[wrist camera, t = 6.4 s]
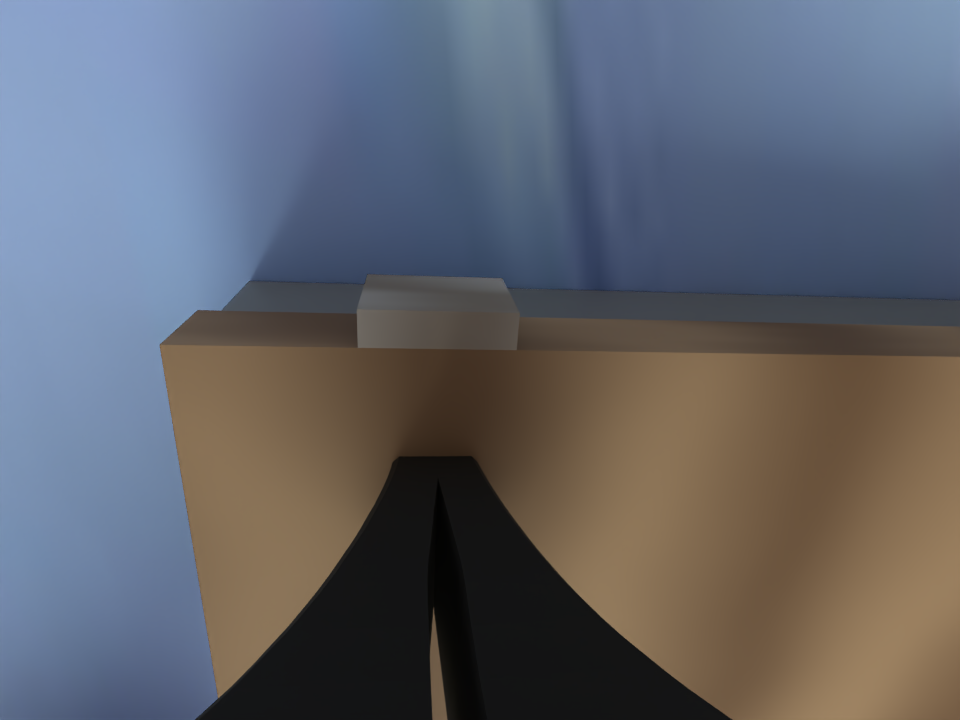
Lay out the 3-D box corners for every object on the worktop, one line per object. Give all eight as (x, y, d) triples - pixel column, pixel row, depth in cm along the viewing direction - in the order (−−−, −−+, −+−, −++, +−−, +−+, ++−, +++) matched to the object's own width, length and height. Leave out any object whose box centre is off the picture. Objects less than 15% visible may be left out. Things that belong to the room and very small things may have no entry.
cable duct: (283, 618, 17) (257, 717, 14) (249, 281, 13) (204, 329, 10) (916, 595, 19) (999, 678, 16) (1051, 302, 15) (1189, 346, 12)
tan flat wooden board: (258, 713, 14) (235, 802, 12) (201, 269, 10) (152, 304, 8) (996, 675, 16) (1068, 745, 15) (1202, 298, 12) (1340, 331, 10)
